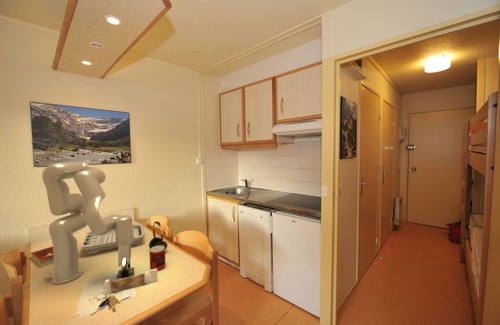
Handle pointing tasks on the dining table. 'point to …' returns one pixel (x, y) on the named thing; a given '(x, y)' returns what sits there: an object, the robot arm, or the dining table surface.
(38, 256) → the hardcover book
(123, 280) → the door
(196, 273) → the dining table surface
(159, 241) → the headphones
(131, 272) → the doorstop
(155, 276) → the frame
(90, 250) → the dish rack
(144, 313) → the dining table surface
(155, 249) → the canned food
